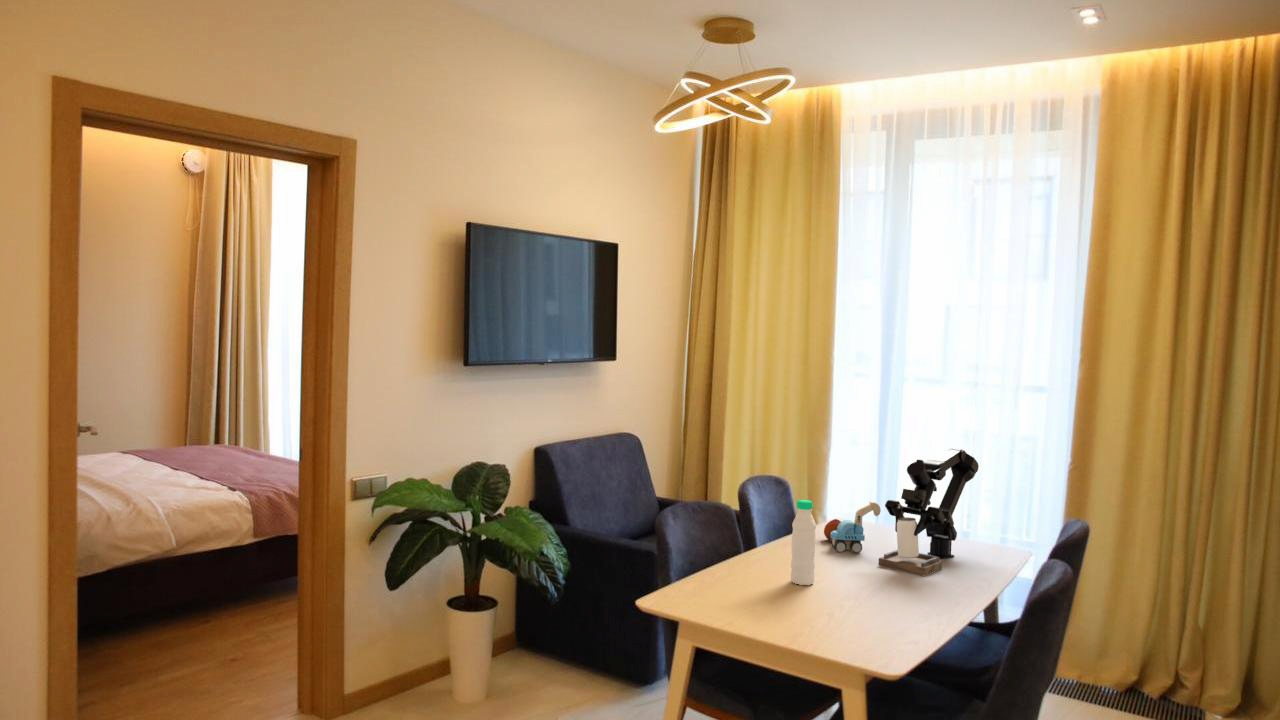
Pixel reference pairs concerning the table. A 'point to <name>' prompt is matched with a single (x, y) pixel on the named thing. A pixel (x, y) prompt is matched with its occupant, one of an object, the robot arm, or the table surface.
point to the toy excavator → (852, 531)
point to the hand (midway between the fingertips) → (905, 533)
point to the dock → (911, 563)
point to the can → (907, 538)
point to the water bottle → (803, 545)
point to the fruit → (831, 528)
